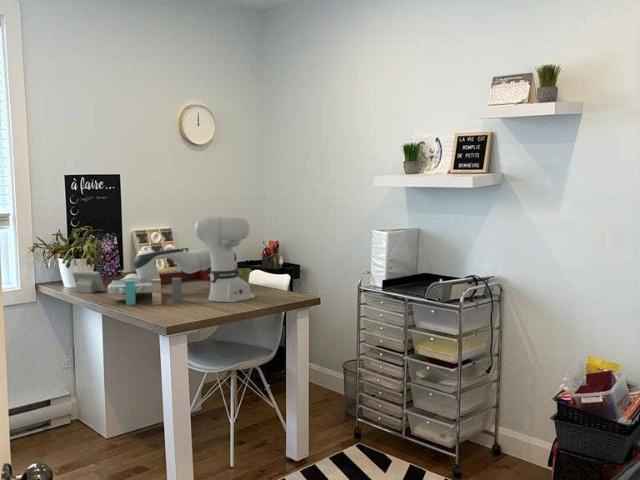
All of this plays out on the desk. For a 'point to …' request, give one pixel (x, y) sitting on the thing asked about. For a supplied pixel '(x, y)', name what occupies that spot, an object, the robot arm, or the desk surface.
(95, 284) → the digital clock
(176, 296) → the charcoal post
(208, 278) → the toy houses
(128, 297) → the teal post
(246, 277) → the plant pot
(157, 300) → the birch post
